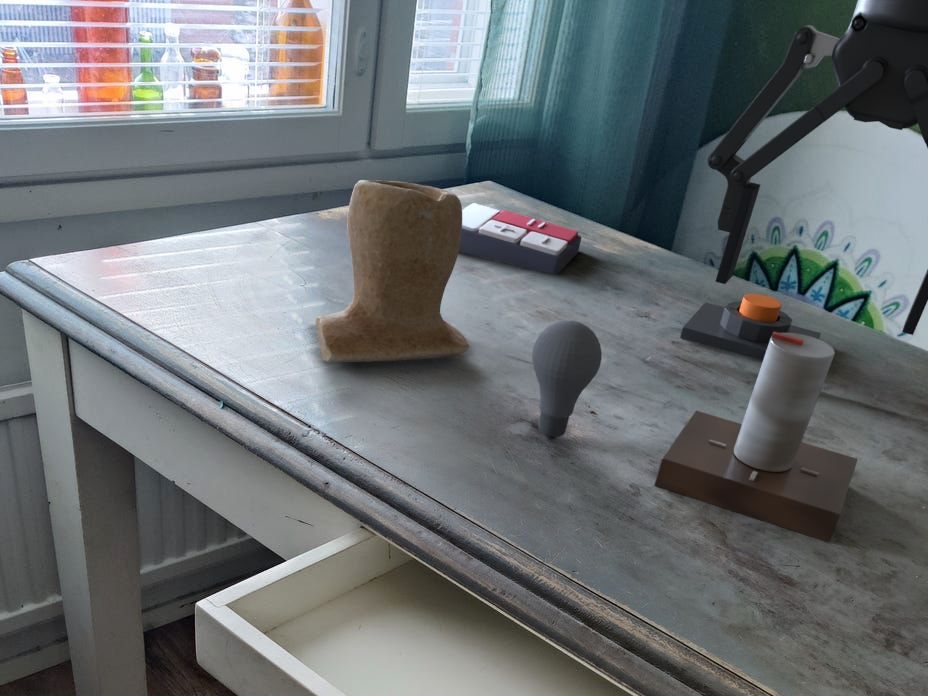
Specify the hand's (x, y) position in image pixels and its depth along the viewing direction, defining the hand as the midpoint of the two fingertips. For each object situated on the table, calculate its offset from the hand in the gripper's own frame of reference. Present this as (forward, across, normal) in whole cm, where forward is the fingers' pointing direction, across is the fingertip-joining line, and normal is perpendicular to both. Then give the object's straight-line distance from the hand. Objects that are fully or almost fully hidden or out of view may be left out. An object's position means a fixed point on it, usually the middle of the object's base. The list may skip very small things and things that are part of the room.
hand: (814, 303), depth 72 cm
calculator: (+16, -39, +40) cm, 58 cm away
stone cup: (+16, -37, +4) cm, 40 cm away
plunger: (+12, -7, +31) cm, 34 cm away
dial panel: (+15, 0, 0) cm, 15 cm away
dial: (+13, 0, 0) cm, 13 cm away
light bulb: (+15, -17, -3) cm, 23 cm away
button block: (+15, -7, +31) cm, 35 cm away
